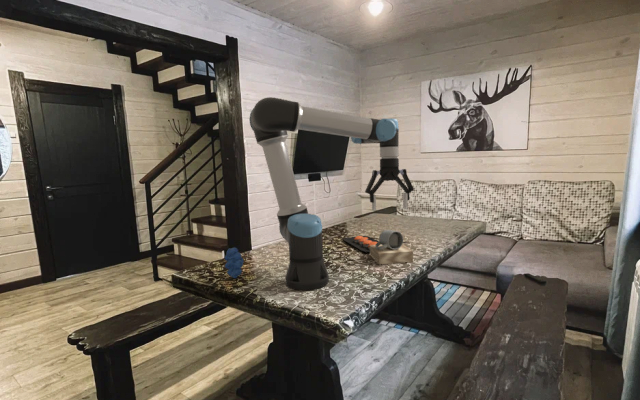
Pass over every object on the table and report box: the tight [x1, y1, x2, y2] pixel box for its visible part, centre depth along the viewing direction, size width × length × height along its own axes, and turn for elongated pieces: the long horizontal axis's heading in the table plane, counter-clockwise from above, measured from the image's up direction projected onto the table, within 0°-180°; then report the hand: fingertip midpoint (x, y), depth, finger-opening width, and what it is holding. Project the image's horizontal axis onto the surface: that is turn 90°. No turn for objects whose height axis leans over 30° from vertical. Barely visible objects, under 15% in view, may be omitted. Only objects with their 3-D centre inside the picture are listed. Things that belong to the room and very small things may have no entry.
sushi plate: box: [342, 235, 409, 253], centre depth 164 cm, size 29×30×4 cm
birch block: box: [369, 243, 414, 265], centre depth 140 cm, size 14×14×5 cm
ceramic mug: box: [375, 229, 404, 250], centre depth 139 cm, size 11×8×8 cm
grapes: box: [224, 246, 245, 279], centre depth 123 cm, size 12×7×12 cm, turn 41°
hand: (389, 209), depth 137 cm, fingers open, 13 cm apart
